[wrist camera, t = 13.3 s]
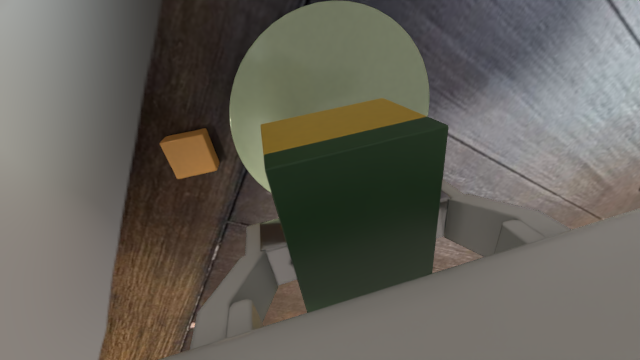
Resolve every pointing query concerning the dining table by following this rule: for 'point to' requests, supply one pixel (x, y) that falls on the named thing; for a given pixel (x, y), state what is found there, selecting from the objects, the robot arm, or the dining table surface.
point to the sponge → (356, 196)
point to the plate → (322, 71)
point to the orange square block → (190, 153)
